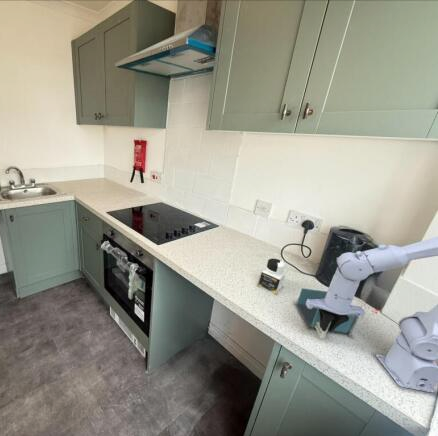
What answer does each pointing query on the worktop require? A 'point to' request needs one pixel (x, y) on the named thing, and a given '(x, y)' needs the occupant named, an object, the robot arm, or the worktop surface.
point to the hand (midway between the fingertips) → (325, 329)
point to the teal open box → (310, 313)
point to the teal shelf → (341, 328)
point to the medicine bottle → (273, 275)
